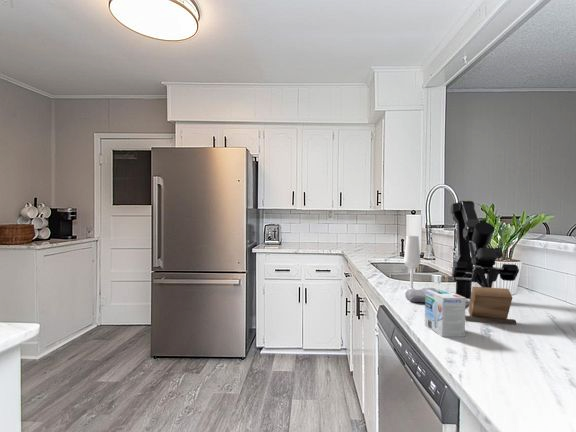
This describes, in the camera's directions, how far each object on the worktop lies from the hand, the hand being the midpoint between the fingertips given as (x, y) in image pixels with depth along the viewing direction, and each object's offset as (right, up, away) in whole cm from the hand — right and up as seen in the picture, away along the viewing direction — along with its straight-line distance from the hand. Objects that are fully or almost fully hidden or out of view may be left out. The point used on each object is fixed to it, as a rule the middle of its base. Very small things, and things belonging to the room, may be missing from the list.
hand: (489, 292), depth 110 cm
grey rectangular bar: (-1, -9, -1) cm, 9 cm away
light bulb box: (-19, -9, -10) cm, 23 cm away
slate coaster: (-2, -9, +20) cm, 22 cm away
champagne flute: (-11, -9, +39) cm, 42 cm away
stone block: (-11, -8, +24) cm, 28 cm away
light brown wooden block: (0, -8, +2) cm, 8 cm away
